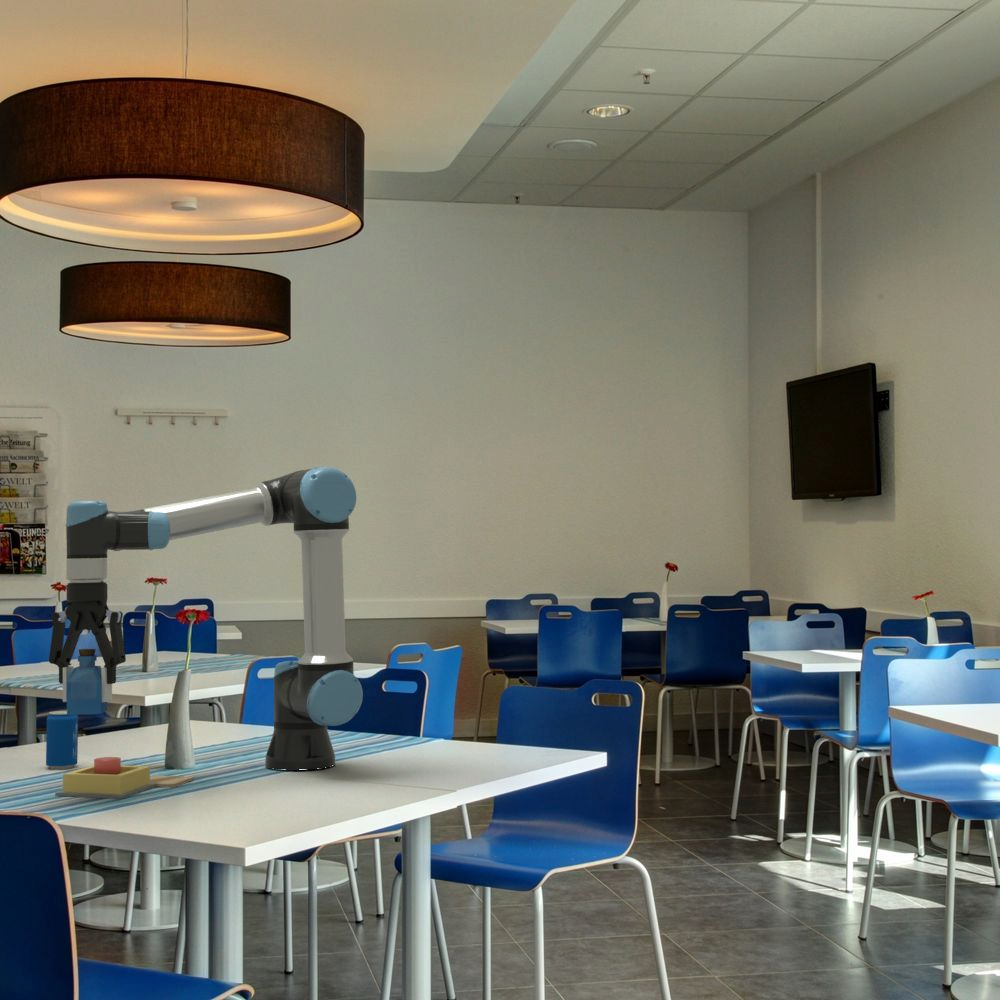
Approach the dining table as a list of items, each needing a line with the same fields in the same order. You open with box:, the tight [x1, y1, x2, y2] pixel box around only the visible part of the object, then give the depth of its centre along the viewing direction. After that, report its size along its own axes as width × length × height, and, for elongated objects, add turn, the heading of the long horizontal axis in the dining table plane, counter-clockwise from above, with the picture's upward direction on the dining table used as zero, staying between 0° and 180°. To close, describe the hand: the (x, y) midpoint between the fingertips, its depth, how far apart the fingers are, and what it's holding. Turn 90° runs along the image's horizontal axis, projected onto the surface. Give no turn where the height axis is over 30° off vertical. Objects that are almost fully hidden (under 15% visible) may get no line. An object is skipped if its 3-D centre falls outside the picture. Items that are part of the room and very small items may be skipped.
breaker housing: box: [54, 764, 157, 800], centre depth 255 cm, size 14×14×4 cm
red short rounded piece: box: [93, 756, 122, 775], centre depth 255 cm, size 5×5×3 cm
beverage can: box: [45, 710, 79, 770], centre depth 284 cm, size 6×6×12 cm
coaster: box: [150, 774, 195, 788], centre depth 264 cm, size 9×9×1 cm
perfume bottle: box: [66, 648, 108, 716], centre depth 249 cm, size 6×6×12 cm
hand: (87, 700), depth 249 cm, fingers closed on perfume bottle, 7 cm apart
